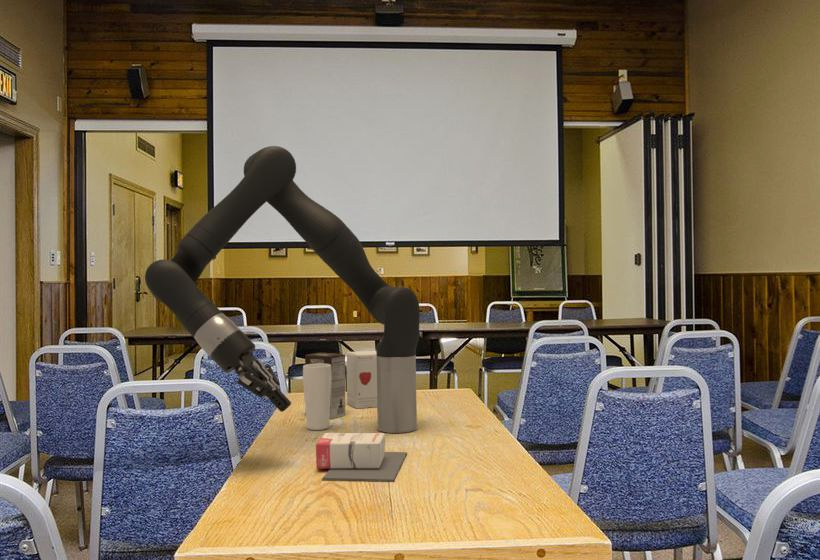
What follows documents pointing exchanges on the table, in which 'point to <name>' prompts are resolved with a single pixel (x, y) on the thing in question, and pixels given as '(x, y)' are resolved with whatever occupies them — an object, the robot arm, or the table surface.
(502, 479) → the table surface
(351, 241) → the robot arm
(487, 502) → the table surface
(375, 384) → the supplement box
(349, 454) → the ink box
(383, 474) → the charcoal mat
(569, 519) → the table surface
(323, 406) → the drinking glass
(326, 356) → the coffee box
